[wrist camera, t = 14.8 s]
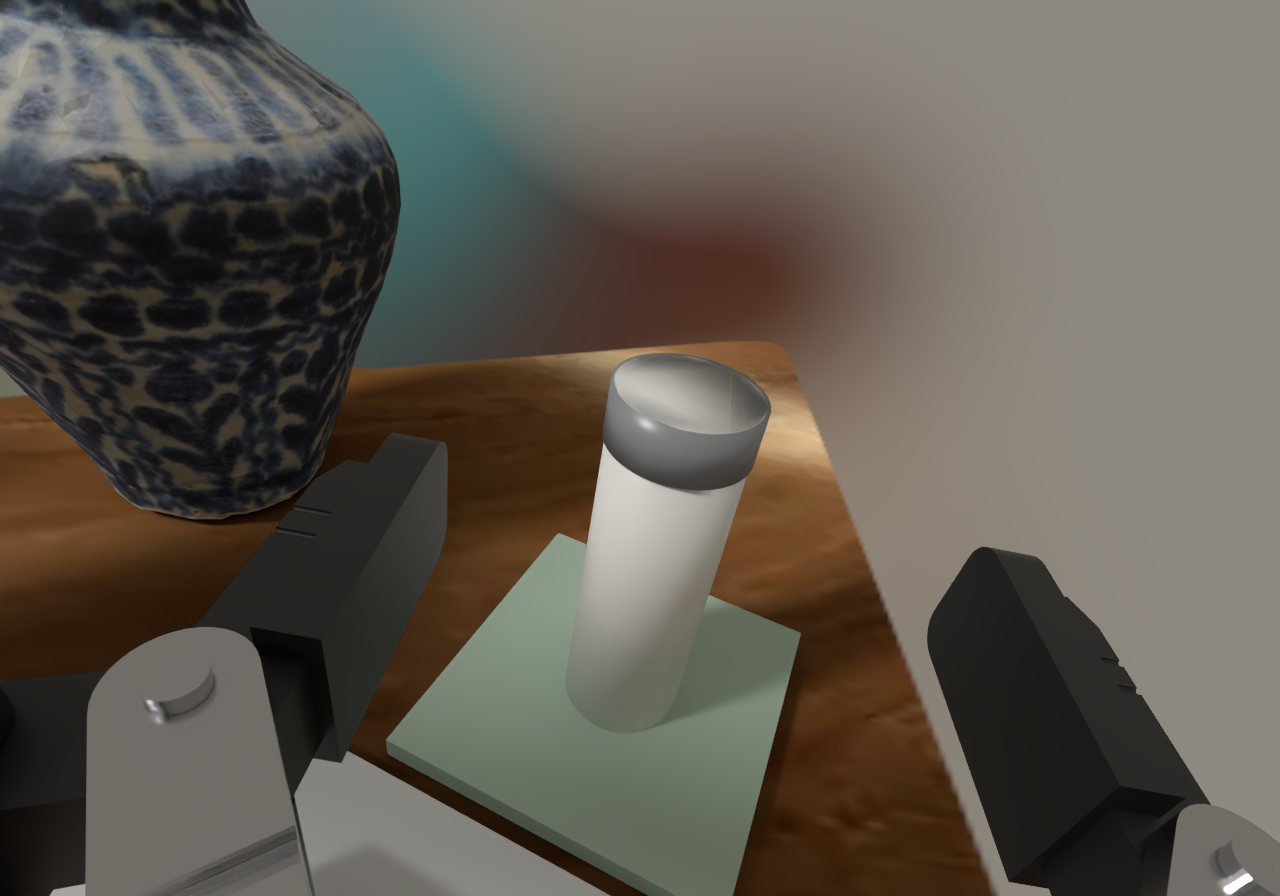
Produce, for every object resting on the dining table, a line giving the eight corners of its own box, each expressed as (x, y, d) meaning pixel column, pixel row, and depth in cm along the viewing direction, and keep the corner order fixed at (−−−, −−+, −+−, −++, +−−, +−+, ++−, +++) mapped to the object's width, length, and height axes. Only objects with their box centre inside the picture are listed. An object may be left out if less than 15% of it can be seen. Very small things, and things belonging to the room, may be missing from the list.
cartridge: (541, 701, 28) (582, 396, 19) (594, 618, 32) (647, 339, 24) (653, 756, 26) (748, 457, 18) (693, 663, 31) (786, 385, 22)
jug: (349, 368, 49) (293, -162, 33) (468, 516, 38) (476, -183, 21) (-25, 433, 37) (-418, -357, 20) (-16, 681, 26) (-889, -651, 9)
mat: (387, 754, 26) (385, 739, 25) (556, 546, 37) (558, 532, 36) (719, 934, 22) (725, 922, 22) (795, 645, 34) (801, 633, 33)
